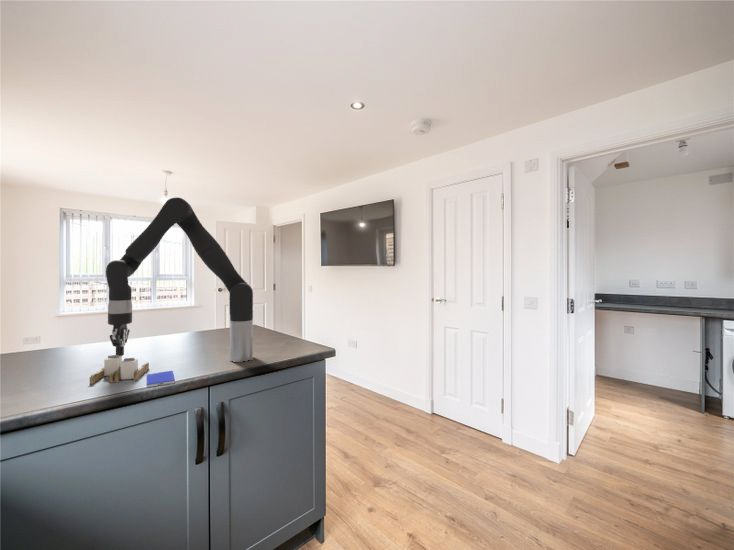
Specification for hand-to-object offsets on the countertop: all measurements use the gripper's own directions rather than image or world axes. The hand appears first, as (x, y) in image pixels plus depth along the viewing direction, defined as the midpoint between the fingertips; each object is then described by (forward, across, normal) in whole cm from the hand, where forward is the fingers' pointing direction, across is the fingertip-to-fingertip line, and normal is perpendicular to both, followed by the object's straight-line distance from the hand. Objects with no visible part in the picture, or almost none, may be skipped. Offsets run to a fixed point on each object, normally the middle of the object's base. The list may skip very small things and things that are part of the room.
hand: (119, 355), depth 126 cm
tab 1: (+5, -7, 0) cm, 9 cm away
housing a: (+5, -10, -7) cm, 13 cm away
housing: (+5, -10, 0) cm, 11 cm away
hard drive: (+6, -19, -18) cm, 27 cm away
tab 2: (+5, -13, -7) cm, 16 cm away
